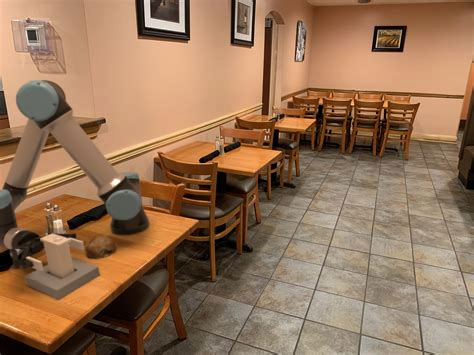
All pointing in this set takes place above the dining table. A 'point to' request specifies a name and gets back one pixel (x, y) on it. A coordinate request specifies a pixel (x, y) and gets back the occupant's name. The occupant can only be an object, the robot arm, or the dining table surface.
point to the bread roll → (100, 246)
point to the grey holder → (62, 286)
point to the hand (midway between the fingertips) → (63, 255)
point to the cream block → (58, 255)
